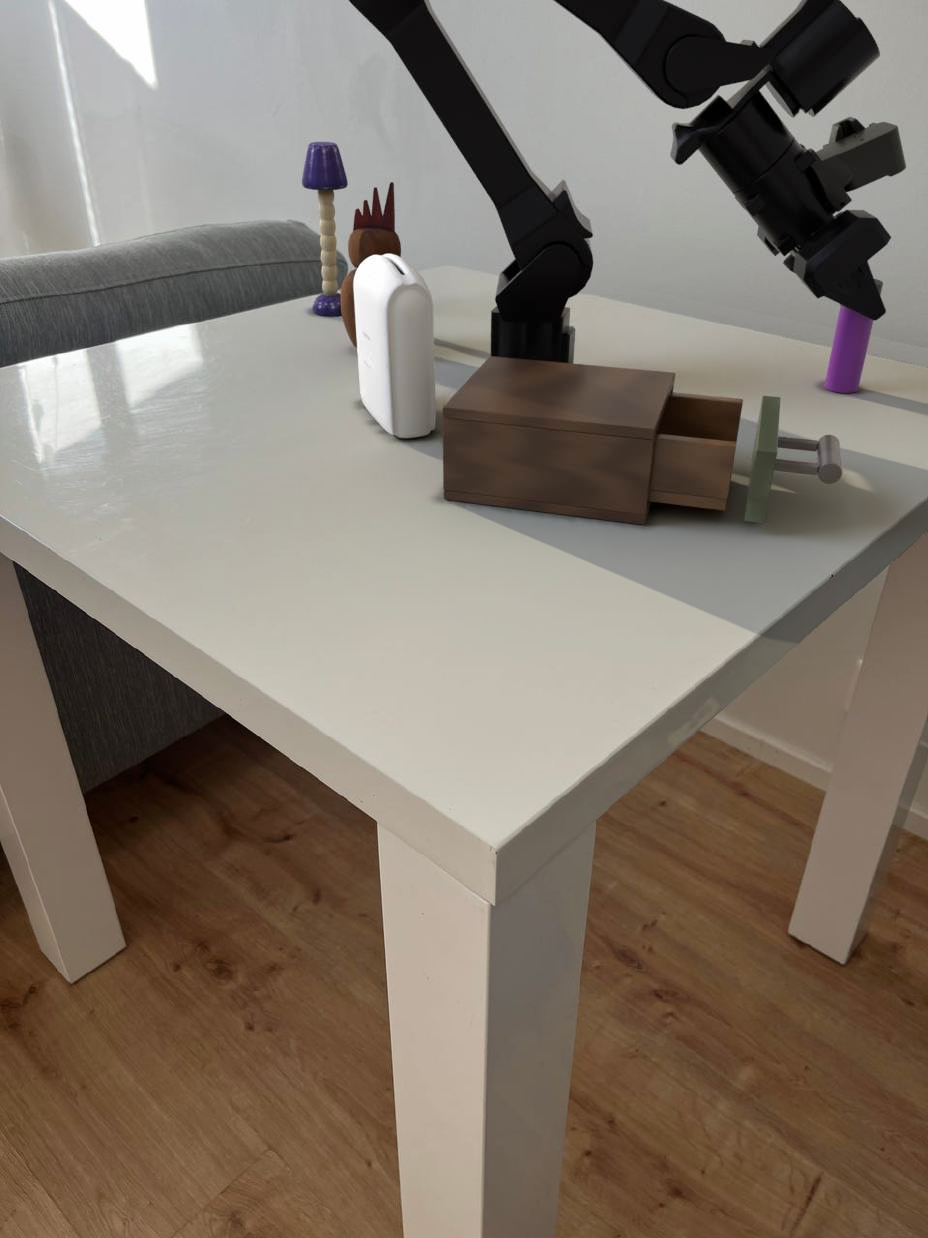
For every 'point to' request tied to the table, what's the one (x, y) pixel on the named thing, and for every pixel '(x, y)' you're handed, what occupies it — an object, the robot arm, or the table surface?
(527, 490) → the cabinet
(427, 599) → the table surface
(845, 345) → the glue stick
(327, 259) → the toy lamp
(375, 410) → the photo printer
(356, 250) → the wooden figurine
